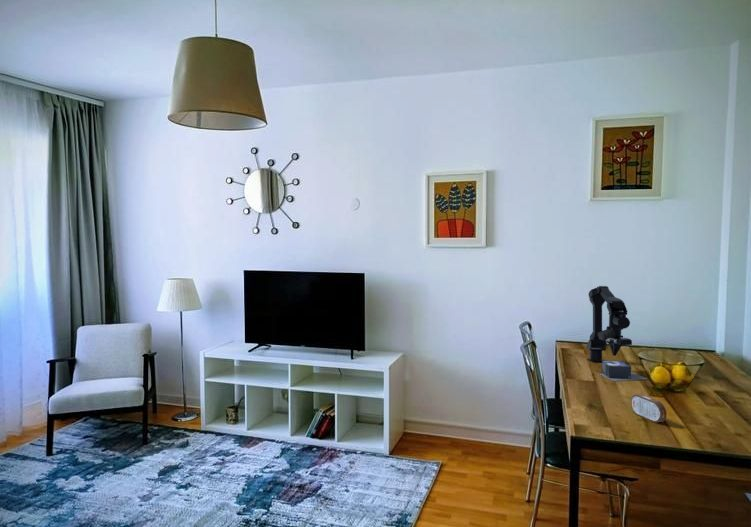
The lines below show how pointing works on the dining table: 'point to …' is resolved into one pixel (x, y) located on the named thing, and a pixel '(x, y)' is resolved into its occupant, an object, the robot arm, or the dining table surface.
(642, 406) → the tin
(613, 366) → the small box
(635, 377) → the mat
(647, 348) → the dining table surface
